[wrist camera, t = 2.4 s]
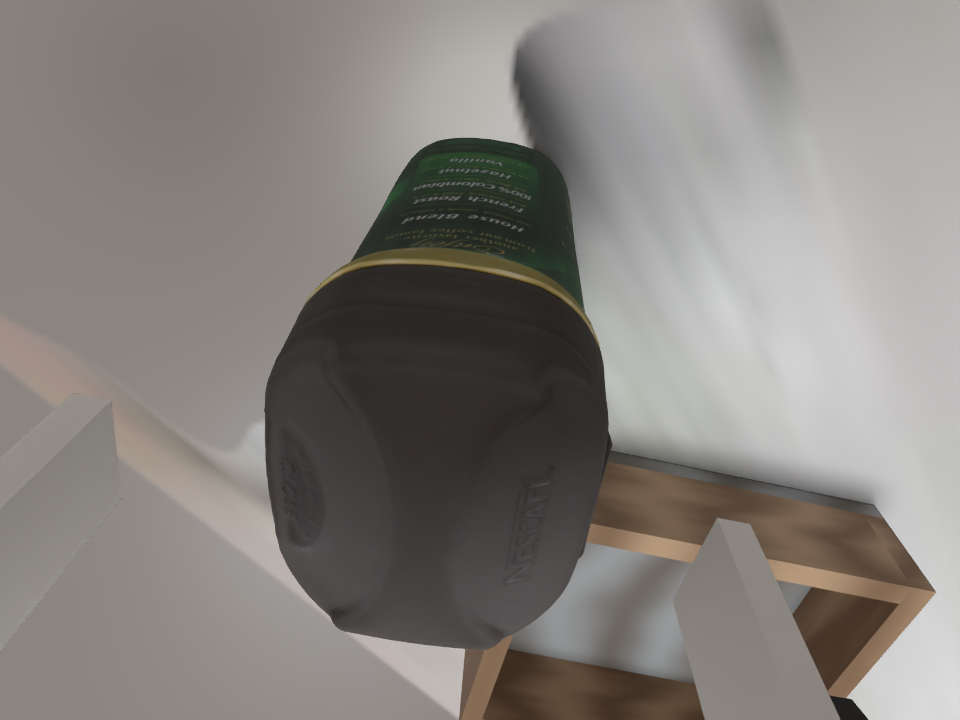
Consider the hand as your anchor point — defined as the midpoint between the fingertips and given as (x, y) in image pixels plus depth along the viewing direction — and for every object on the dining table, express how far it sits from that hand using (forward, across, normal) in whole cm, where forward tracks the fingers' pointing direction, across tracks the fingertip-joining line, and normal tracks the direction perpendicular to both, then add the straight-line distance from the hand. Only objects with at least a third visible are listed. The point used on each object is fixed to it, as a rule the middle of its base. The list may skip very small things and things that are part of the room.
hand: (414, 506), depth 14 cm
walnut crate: (+17, +16, -19) cm, 30 cm away
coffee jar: (+18, 0, 0) cm, 18 cm away
